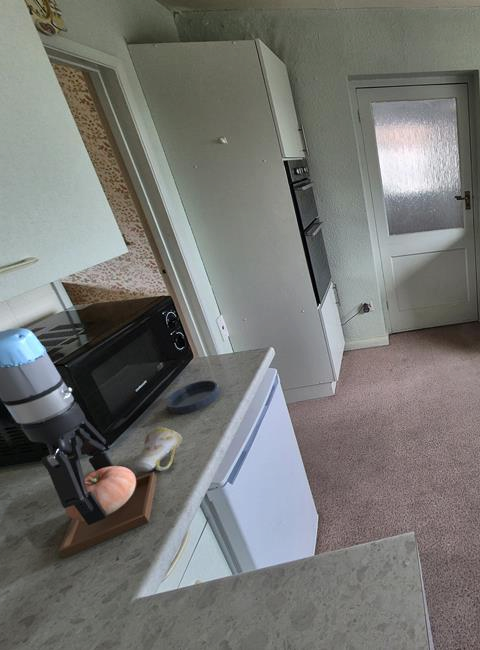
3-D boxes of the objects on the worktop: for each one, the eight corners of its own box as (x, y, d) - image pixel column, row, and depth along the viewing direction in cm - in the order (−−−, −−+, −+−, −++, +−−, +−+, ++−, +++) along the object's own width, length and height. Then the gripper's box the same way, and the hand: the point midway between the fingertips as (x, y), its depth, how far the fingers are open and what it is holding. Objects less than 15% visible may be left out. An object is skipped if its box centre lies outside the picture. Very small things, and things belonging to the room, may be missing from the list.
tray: (63, 558, 71) (57, 551, 70) (83, 506, 81) (78, 500, 80) (148, 521, 76) (145, 515, 76) (157, 477, 87) (153, 471, 86)
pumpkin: (80, 503, 79) (60, 475, 76) (143, 475, 85) (127, 448, 81) (71, 541, 71) (49, 512, 68) (142, 508, 77) (124, 479, 73)
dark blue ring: (167, 420, 106) (163, 413, 105) (171, 397, 117) (168, 390, 116) (220, 402, 112) (217, 395, 111) (219, 381, 122) (217, 375, 121)
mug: (128, 479, 88) (122, 435, 88) (171, 464, 97) (165, 424, 98) (151, 475, 85) (145, 431, 86) (192, 460, 95) (186, 420, 96)
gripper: (53, 441, 60) (115, 534, 69) (92, 374, 79) (137, 454, 88) (-13, 462, 57) (62, 556, 66) (44, 387, 76) (96, 469, 85)
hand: (105, 498), depth 77 cm, fingers closed on pumpkin, 11 cm apart
